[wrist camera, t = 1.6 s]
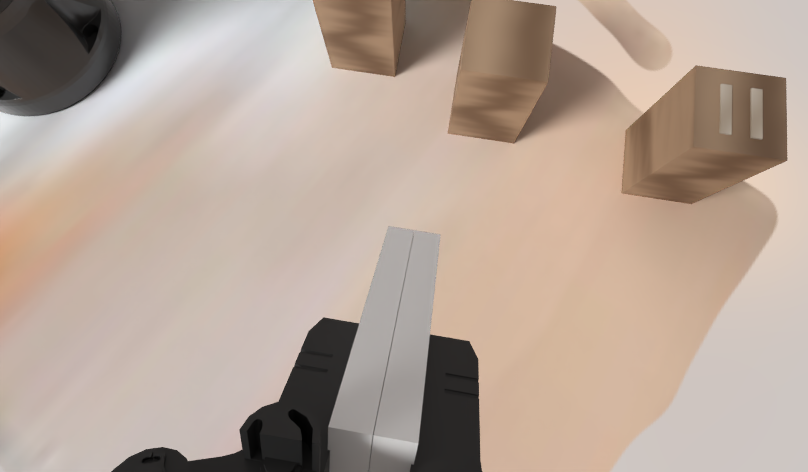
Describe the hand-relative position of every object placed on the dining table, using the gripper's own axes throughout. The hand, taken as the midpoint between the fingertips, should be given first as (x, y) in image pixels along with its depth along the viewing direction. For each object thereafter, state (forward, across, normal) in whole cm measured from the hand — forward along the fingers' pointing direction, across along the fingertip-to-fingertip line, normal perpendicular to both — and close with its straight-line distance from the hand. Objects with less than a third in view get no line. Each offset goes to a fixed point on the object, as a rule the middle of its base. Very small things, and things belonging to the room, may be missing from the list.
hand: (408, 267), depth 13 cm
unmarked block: (+30, +4, -3) cm, 31 cm away
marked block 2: (+34, -8, 0) cm, 35 cm away
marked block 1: (+28, +20, -6) cm, 35 cm away
